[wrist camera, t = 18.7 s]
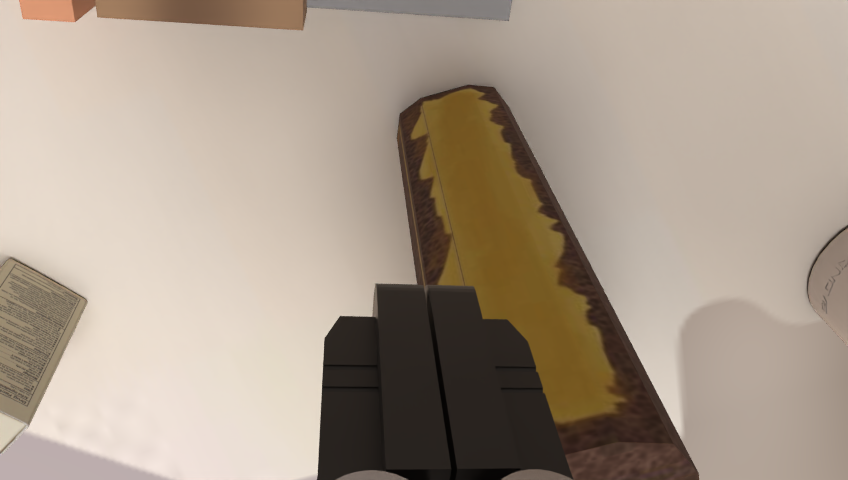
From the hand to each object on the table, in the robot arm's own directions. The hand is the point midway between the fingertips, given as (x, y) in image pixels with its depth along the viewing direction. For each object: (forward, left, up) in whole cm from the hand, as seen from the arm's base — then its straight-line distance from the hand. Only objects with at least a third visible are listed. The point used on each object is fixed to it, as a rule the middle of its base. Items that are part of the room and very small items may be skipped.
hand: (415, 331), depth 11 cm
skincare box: (+19, +20, -28) cm, 39 cm away
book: (-8, +16, -28) cm, 33 cm away
